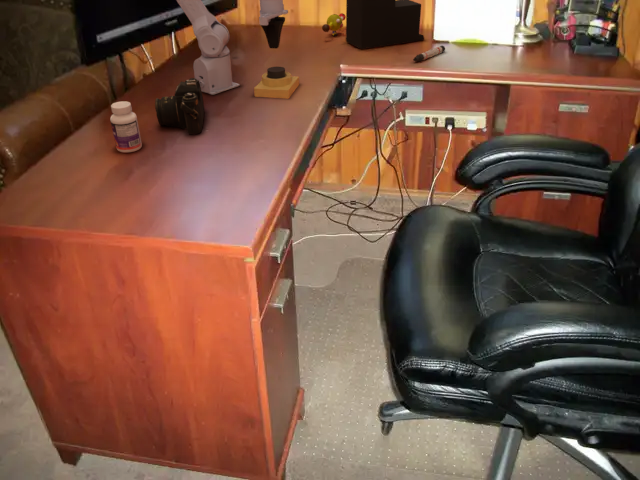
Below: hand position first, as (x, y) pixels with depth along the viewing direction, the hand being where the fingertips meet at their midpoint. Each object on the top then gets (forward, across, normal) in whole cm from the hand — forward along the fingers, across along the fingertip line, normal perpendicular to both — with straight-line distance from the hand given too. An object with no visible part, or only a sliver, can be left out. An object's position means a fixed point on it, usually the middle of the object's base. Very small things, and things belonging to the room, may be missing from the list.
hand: (274, 47), depth 159 cm
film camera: (+10, -29, +14) cm, 33 cm away
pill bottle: (+10, -44, +20) cm, 49 cm away
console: (+10, -2, -1) cm, 11 cm away
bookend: (+11, +49, -22) cm, 55 cm away
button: (+7, -2, -1) cm, 7 cm away
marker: (+11, +33, -37) cm, 51 cm away
